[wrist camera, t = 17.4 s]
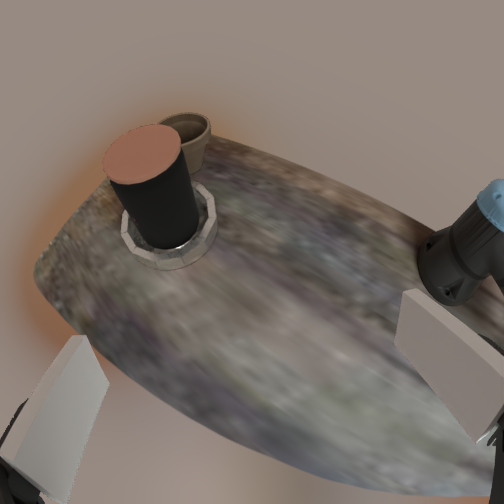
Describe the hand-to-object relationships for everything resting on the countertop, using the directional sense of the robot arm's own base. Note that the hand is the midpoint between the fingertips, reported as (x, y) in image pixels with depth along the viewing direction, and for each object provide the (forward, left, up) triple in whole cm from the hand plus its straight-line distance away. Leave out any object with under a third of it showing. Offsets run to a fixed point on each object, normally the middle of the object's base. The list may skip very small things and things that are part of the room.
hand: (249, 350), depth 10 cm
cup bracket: (+9, -26, -30) cm, 41 cm away
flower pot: (+6, -42, -30) cm, 52 cm away
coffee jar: (+9, -26, -29) cm, 40 cm away
